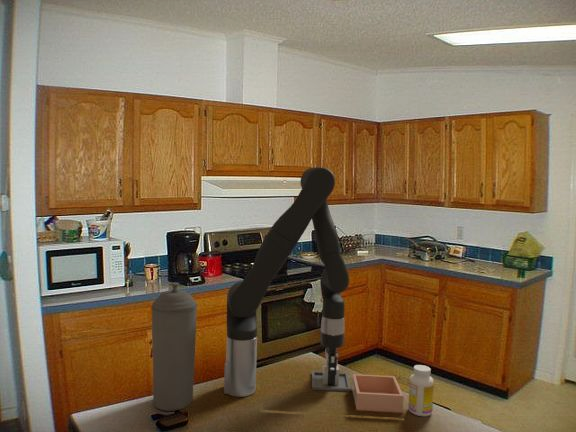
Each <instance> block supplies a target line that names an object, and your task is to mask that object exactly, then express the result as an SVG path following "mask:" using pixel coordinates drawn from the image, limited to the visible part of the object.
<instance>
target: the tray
mask: <svg viewBox="0 0 576 432" xmlns="http://www.w3.org/2000/svg"><path fill="white" fill-rule="evenodd" d="M311 390H314V391H329V392H330V391H331V392H332V391H334V392H348V393H349V392H352V386H351V383H350V377H349V373H348V372H340V371H339V385H334V386H328V385H326V384H323V370H321V371H320V370H311Z"/></svg>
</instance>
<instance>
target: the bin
mask: <svg viewBox="0 0 576 432" xmlns="http://www.w3.org/2000/svg"><path fill="white" fill-rule="evenodd" d="M351 379H352V381H351V382H352V383H351V392H352V396H353V399H354V400H353V401H354V406H355V410H356V411H361V412H365V411H366V412H381V413H397V414H399V413H400V414H401V413H402V414H403V411H404V394H403V392H402V390H401V387H400V385H399V382H398V381H397V378H396V376H395V375H376V374H360V373H358V374H355V373H353V374H352V378H351Z"/></svg>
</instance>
